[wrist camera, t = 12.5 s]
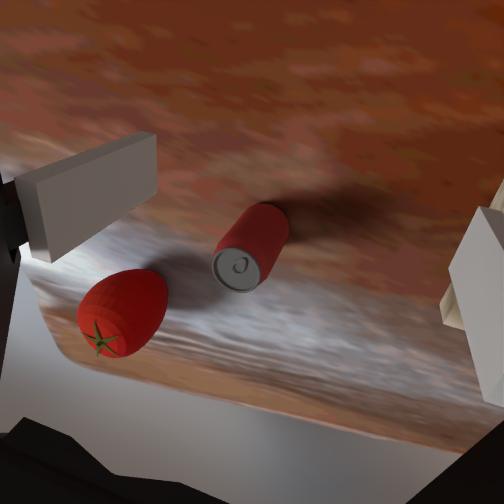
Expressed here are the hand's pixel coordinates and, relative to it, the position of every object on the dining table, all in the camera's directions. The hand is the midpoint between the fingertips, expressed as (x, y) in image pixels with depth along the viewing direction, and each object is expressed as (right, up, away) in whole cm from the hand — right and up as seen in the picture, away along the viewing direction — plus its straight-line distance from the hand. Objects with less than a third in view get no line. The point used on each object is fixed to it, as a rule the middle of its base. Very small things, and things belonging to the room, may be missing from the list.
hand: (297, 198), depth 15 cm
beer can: (0, +1, +34) cm, 34 cm away
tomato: (-19, -8, +46) cm, 50 cm away
